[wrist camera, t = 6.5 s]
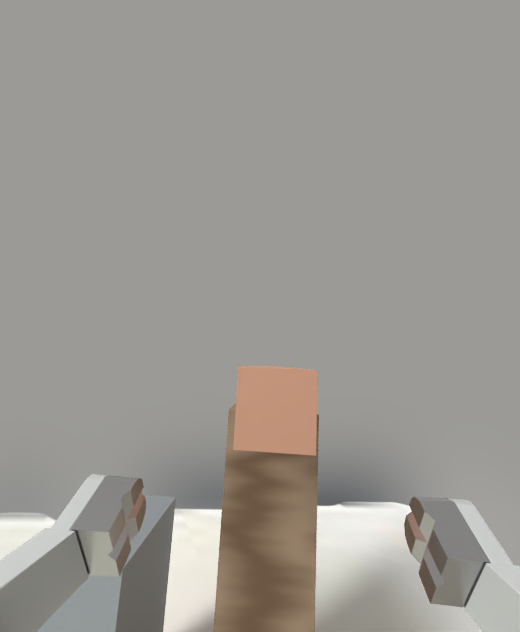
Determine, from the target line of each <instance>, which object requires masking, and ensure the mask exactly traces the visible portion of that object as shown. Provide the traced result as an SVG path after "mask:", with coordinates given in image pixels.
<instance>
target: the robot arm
mask: <svg viewBox="0 0 520 632" xmlns="http://www.w3.org/2000/svg"><path fill="white" fill-rule="evenodd" d="M142 489H143V482H142V479H139V478H129V477H119V476H109V475H96V474H92V475H91V476H89V477H88V478H87V479H86V480H85V482H84V483H83V484H82V486H81V487H80V489H79V490H78V491H77V493H76V494H75V496H74V497H73V498H72V500H71V501H70V503H69V504H68V505H67V507H66V508H65V510H64V511H63V512H62V514H61V515H60V516H59V518H58V519H57V521H56V522H55V523H54V525H53V526H52V528H51V529H44V530H43V531H41V532H40V533H38V534H37V535H36V536H34V537H33V538H31V539H30V540H28V541H27V542H26V543H24V544H23V545H21V546H20V547H18V548H17V549H16V550H14V551H13V552H11V553H10V554H9V555H7V556H6V557H4V558H3V559H1V560H0V632H37V631H38V630H39V629H40V628H41V627H42V626H43V624H44V623H45V622H46V621H47V620H48V619H49V618H50V617H51V616H52V615H53V614H54V613H55V612H56V611H57V610H58V609H59V608H60V607H61V606H62V605H63V604H64V603H65V602H66V601H67V600H68V599H69V598H70V597H71V596H72V594H73V593H74V592H75V591H76V590H77V589H78V588H79V587H80V586H81V585H82V584H83V583H84V582H85V581H86V580H87V579H88V578H89V576H88V575H93V576H112V577H120V574H121V572H122V570H123V568H124V565H125V563H126V561H127V558H128V556H129V554H130V551H131V545H130V540H131V539H132V538H133V537H134V536H136V535H137V534H138V533H139V531H140V528H141V526H142V523H143V520H144V516H145V512H146V498H145V496H144V495H143V494H142V493H141V491H142ZM409 506H410V508H411V510H412V512H411V513H409V514H408V515H407V516H406V519H405V524H404V526H405V536H406V540H407V544H408V547H409V549H410V552H411V554H412V555H413V556H414V558H415V559H416V560H417V561H418V562H419V563H420V569H419V575H420V578H421V581H422V583H423V586H424V588H425V591H426V593H427V596H428V598H429V601H430V603H431V604H439V605H448V606H456V607H465V611H466V612H467V613H468V614H469V616H470V617H471V618H472V619H473V620H474V621H475V623H476V624H477V625H478V626H479V627H480V629H481V630H482V631H483V632H520V566H518V565H514V564H513V563H512V561H511V560H510V558H509V557H508V555H507V554H506V552H505V551H504V550H503V548H502V546H501V545H500V543H499V542H498V541H497V539H496V538H495V536H494V535H493V533H492V532H491V530H490V529H489V527H488V526H487V524H486V523H485V521H484V520H483V518H482V517H481V515H480V514H479V512H478V511H477V509H476V508H475V506H474V505H473V504H472V503H471V502H470V501H469V500H459V499H448V498H432V497H413V498H412V499H411V501H410V505H409Z"/></svg>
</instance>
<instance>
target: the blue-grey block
mask: <svg viewBox="0 0 520 632" xmlns="http://www.w3.org/2000/svg"><path fill="white" fill-rule="evenodd" d="M144 496H145V498H146V512H145V516H144V520H143V523H142V526H141V528H140V531H139V533H138V534H137V535H136V536H134V537H133V538H132V539H131V540H130V545H131V551H130V554H129V556H128V558H127V561H126V563H125V565H124V568H123V570H122V572H121V574H120V577H112V576H93V575H88V576H89V578H88V579H87V580H86V581H85V582H84V583H83V584H82V585H81V586H80V587H79V588H78V589H77V590H76V591H75V592H74V593H73V594H72V596H71V597H70V598H69V599H68V600H67V601H66V602H65V603H64V604H63V605H62V606H61V607H60V608H59V609H58V610H57V611H56V612H55V613H54V614H53V615H52V616H51V617H50V618H49V619H48V620H47V621H46V622H45V623H44V624H43V626H42V627H41V628H40V629H39V630H38V631H37V632H163V625H164V615H165V604H166V594H167V583H168V572H169V562H170V551H171V541H172V530H173V520H174V509H175V499H176V498H175V497H165V496H152V495H144Z"/></svg>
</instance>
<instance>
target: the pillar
mask: <svg viewBox="0 0 520 632" xmlns="http://www.w3.org/2000/svg"><path fill="white" fill-rule="evenodd" d="M235 412H236V403H235V404H234V405H233V406H232V407H231V408H230V409H229V418H228V432H227V433H228V434H227V447H226V461H225V475H224V489H223V504H222V518H221V533H220V547H219V561H218V576H217V590H216V604H215V619H214V632H315V580H316V527H317V475H318V474H317V473H318V421H319V417H318V414H317V436H316V456H314V455H299V454H285V453H271V452H257V451H243V450H233V443H234V427H235Z"/></svg>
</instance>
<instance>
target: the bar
mask: <svg viewBox="0 0 520 632" xmlns="http://www.w3.org/2000/svg"><path fill="white" fill-rule="evenodd" d="M317 384H318V371H317V370H307V369H298V368H290V367H289V368H288V367H274V366H273V367H272V366H239V368H238V383H237V397H236V412H235V427H234V443H233V450H243V451H257V452H271V453H285V454H299V455H314V456H316V436H317V386H318V385H317Z"/></svg>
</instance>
